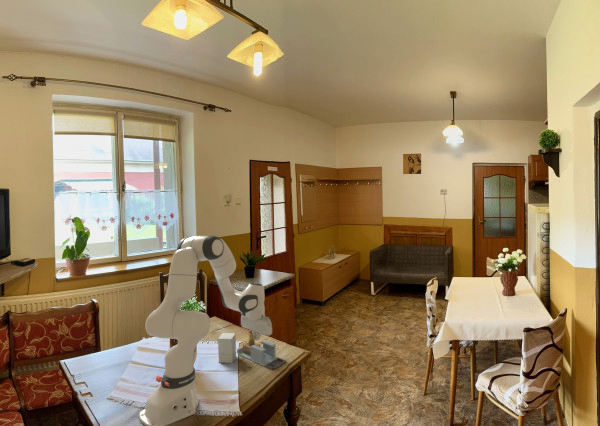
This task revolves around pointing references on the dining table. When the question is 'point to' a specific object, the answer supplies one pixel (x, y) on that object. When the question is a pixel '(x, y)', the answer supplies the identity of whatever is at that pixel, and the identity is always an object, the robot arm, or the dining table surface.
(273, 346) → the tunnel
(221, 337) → the supplement box
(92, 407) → the dining table surface
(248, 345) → the tan tall piece
